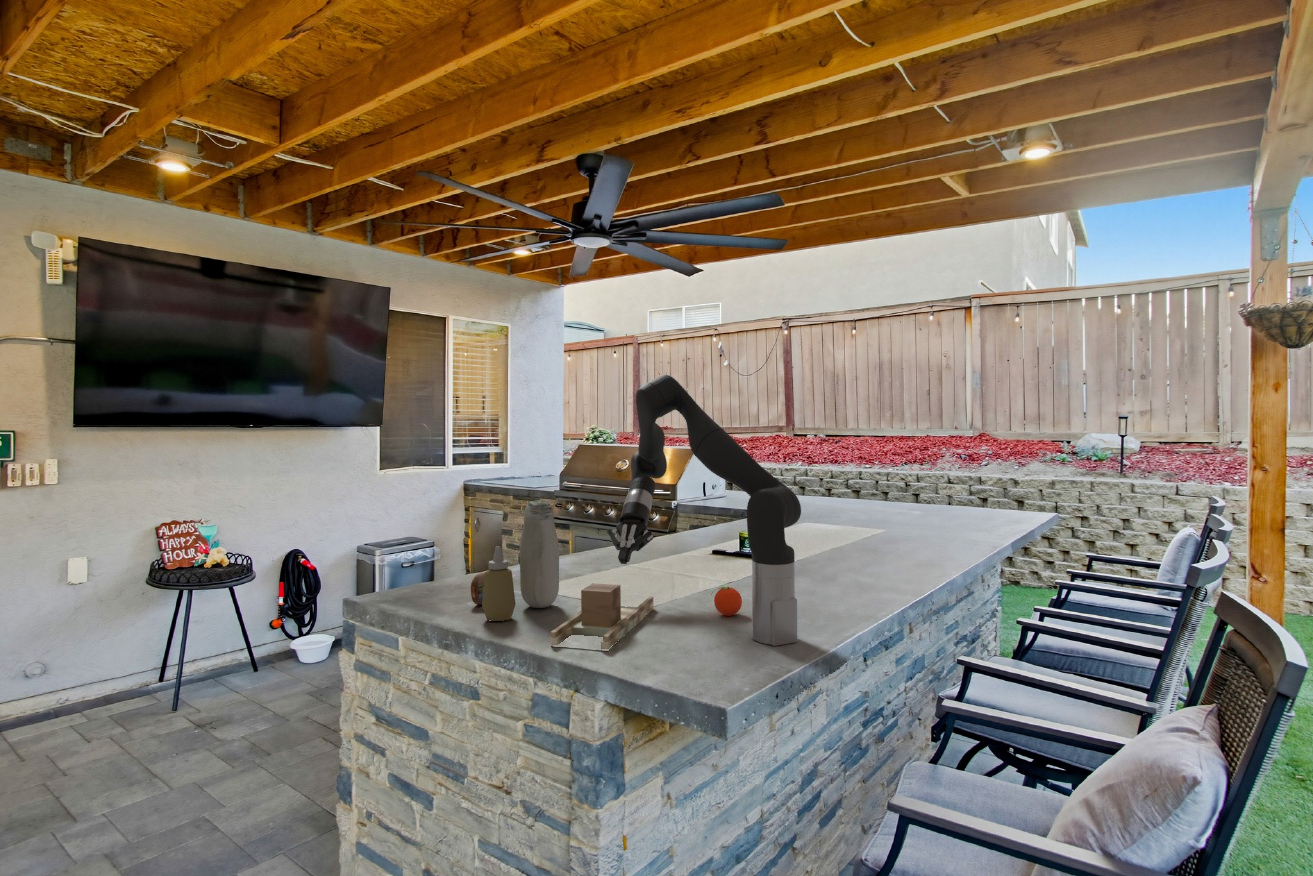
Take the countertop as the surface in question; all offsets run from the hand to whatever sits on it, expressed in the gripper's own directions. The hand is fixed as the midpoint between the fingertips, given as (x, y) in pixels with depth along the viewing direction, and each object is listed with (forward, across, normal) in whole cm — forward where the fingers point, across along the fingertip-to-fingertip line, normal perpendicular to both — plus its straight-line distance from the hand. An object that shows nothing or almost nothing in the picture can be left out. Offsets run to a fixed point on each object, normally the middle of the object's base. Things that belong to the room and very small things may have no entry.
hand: (622, 562), depth 173 cm
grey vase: (+10, +22, -8) cm, 26 cm away
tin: (+9, +38, -9) cm, 40 cm away
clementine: (+8, -26, -10) cm, 29 cm away
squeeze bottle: (+20, +27, +2) cm, 33 cm away
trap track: (+19, -1, +1) cm, 19 cm away
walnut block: (+20, -1, +5) cm, 21 cm away
